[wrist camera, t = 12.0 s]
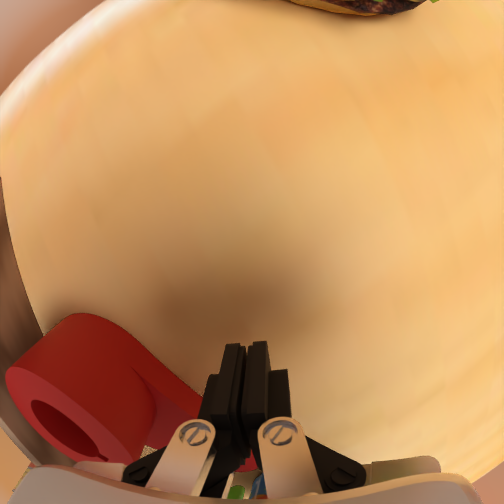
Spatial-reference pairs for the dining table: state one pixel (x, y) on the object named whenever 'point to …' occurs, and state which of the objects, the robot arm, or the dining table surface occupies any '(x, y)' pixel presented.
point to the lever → (100, 393)
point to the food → (363, 6)
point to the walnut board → (18, 353)
